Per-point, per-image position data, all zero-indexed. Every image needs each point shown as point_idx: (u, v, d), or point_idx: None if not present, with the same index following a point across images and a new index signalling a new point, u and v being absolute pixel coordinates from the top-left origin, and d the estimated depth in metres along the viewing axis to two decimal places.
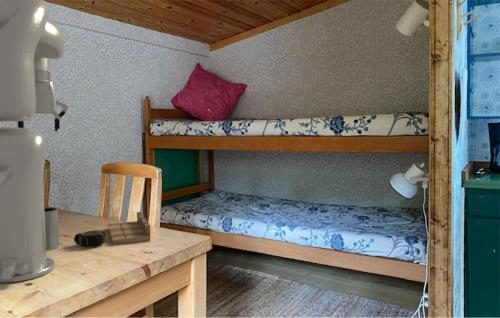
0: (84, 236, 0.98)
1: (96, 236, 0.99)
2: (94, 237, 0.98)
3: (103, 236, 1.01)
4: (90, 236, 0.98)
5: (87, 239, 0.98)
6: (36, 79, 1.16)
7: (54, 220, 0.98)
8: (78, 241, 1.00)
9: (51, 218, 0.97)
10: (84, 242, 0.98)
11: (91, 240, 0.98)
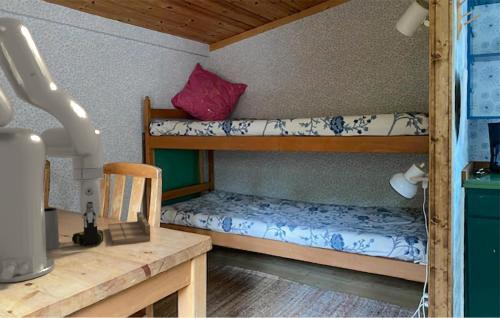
0: (82, 235, 0.99)
1: None
2: None
3: (101, 236, 1.01)
4: None
5: None
6: None
7: (54, 220, 0.98)
8: (76, 240, 1.00)
9: (51, 218, 0.97)
10: (82, 241, 0.98)
11: None
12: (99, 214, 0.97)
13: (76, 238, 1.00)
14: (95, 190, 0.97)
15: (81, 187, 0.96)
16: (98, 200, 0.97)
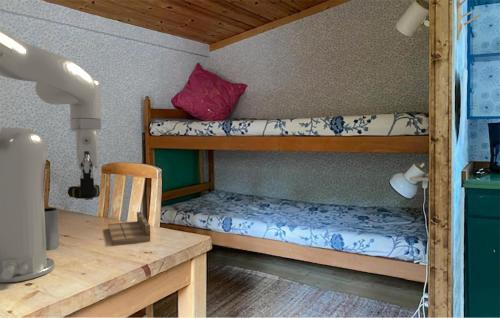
0: (77, 187, 0.96)
1: None
2: None
3: (97, 189, 0.99)
4: None
5: None
6: None
7: (54, 220, 0.98)
8: (71, 193, 0.98)
9: (51, 218, 0.97)
10: (77, 193, 0.96)
11: None
12: (96, 165, 0.96)
13: (71, 191, 0.98)
14: (92, 140, 0.95)
15: (78, 136, 0.94)
16: (95, 150, 0.96)
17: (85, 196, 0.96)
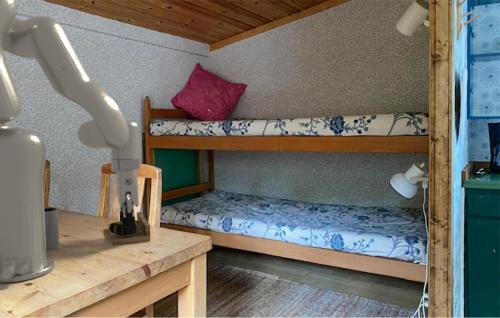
0: (119, 225, 1.02)
1: None
2: None
3: (137, 225, 1.04)
4: None
5: (122, 228, 1.01)
6: (139, 168, 1.05)
7: (54, 220, 0.98)
8: (113, 230, 1.03)
9: (51, 218, 0.97)
10: (119, 230, 1.01)
11: None
12: (137, 203, 1.01)
13: (113, 227, 1.03)
14: (133, 180, 1.00)
15: (120, 177, 0.99)
16: (136, 190, 1.01)
17: (127, 233, 1.01)
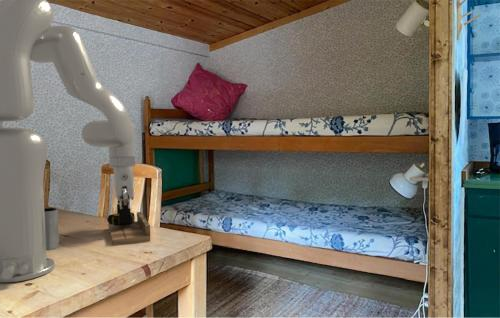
0: (116, 216, 1.11)
1: None
2: None
3: (132, 217, 1.14)
4: None
5: None
6: None
7: (54, 220, 0.98)
8: (111, 221, 1.13)
9: (51, 218, 0.97)
10: (116, 221, 1.11)
11: None
12: (132, 197, 1.11)
13: (111, 219, 1.13)
14: (129, 176, 1.10)
15: (117, 173, 1.09)
16: (132, 184, 1.11)
17: (123, 224, 1.11)
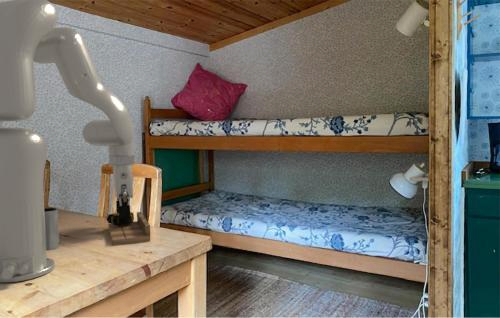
0: (116, 216, 1.13)
1: None
2: None
3: (131, 217, 1.16)
4: None
5: (118, 218, 1.13)
6: None
7: (54, 220, 0.98)
8: (110, 220, 1.15)
9: (51, 218, 0.97)
10: (115, 221, 1.13)
11: (121, 219, 1.13)
12: (132, 195, 1.13)
13: (110, 218, 1.15)
14: (128, 174, 1.12)
15: (117, 171, 1.11)
16: (131, 183, 1.13)
17: (122, 223, 1.13)
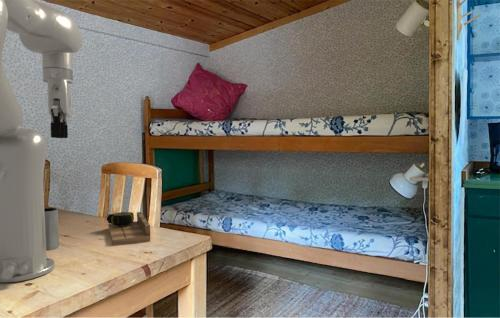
0: (116, 216, 1.13)
1: (126, 216, 1.14)
2: (124, 217, 1.13)
3: (131, 217, 1.16)
4: (121, 216, 1.13)
5: (118, 218, 1.13)
6: (72, 81, 1.06)
7: (54, 220, 0.98)
8: (110, 220, 1.15)
9: (51, 218, 0.97)
10: (115, 221, 1.13)
11: (121, 219, 1.13)
12: (66, 112, 1.01)
13: (110, 218, 1.15)
14: (62, 88, 1.01)
15: (49, 84, 1.00)
16: (65, 98, 1.01)
17: (122, 223, 1.13)
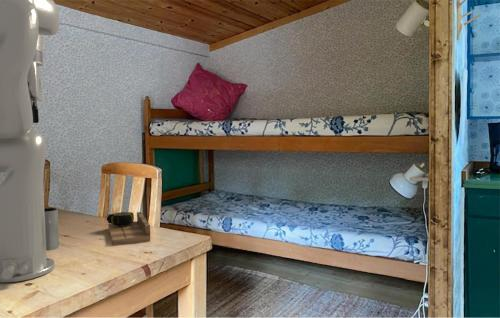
0: (116, 216, 1.13)
1: (126, 216, 1.14)
2: (124, 217, 1.13)
3: (131, 217, 1.16)
4: (121, 216, 1.13)
5: (118, 218, 1.13)
6: (42, 63, 1.02)
7: (54, 220, 0.98)
8: (110, 220, 1.15)
9: (51, 218, 0.97)
10: (115, 221, 1.13)
11: (121, 219, 1.13)
12: (36, 95, 0.97)
13: (110, 218, 1.15)
14: (31, 70, 0.97)
15: None
16: (35, 81, 0.97)
17: (122, 223, 1.13)
